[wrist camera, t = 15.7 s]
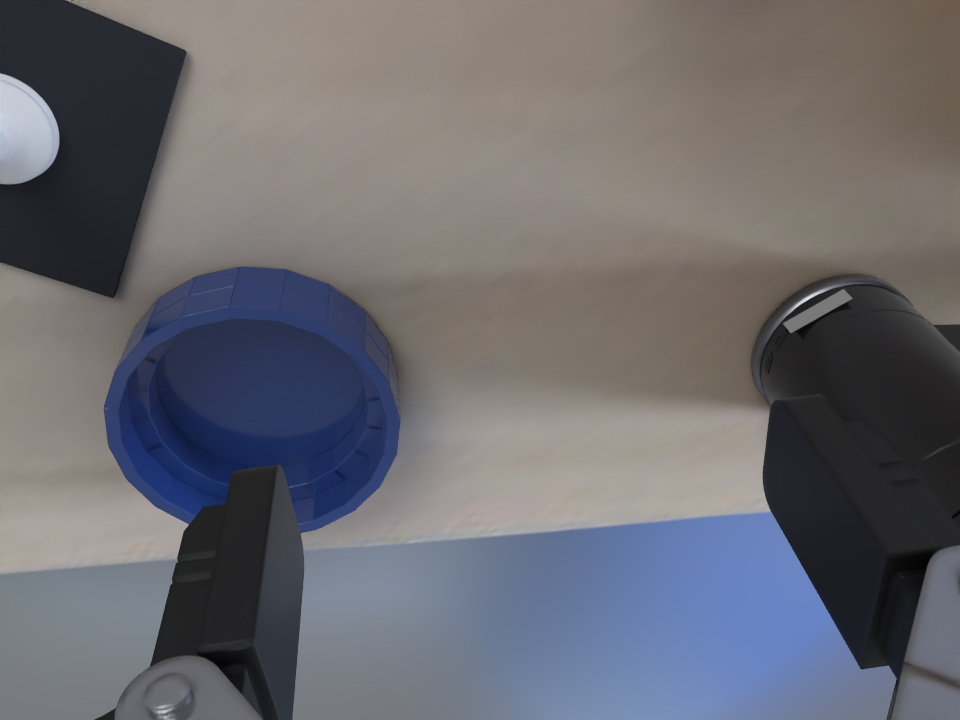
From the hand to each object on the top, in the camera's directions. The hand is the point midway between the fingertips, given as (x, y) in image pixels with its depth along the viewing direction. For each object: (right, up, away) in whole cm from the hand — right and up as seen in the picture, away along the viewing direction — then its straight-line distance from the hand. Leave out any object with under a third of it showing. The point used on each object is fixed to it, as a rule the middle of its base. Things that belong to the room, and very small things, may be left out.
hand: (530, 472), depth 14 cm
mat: (-22, +12, +25) cm, 36 cm away
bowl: (-13, +1, +34) cm, 36 cm away
